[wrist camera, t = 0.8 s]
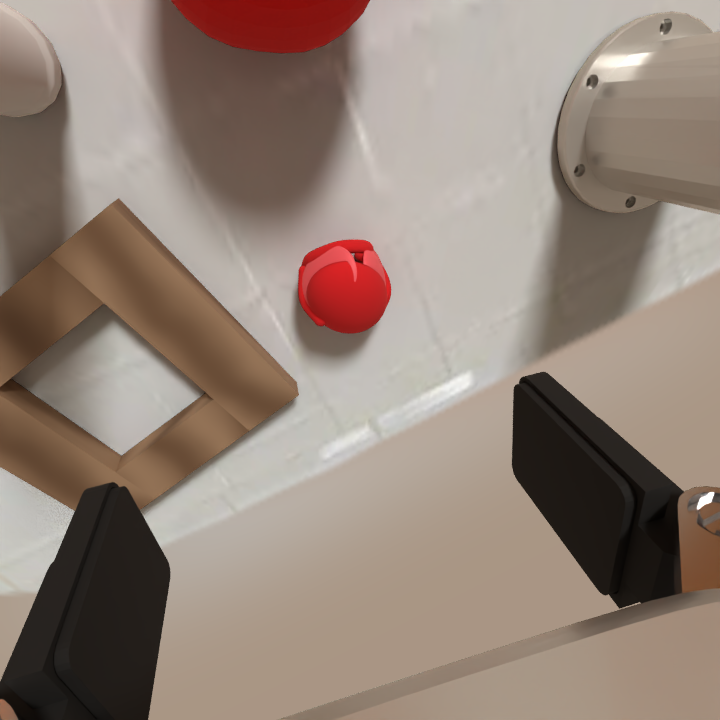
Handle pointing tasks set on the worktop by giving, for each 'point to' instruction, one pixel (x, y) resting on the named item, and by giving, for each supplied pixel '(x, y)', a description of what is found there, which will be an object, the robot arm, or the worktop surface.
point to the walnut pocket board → (156, 325)
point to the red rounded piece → (344, 286)
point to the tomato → (273, 22)
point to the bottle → (25, 66)
